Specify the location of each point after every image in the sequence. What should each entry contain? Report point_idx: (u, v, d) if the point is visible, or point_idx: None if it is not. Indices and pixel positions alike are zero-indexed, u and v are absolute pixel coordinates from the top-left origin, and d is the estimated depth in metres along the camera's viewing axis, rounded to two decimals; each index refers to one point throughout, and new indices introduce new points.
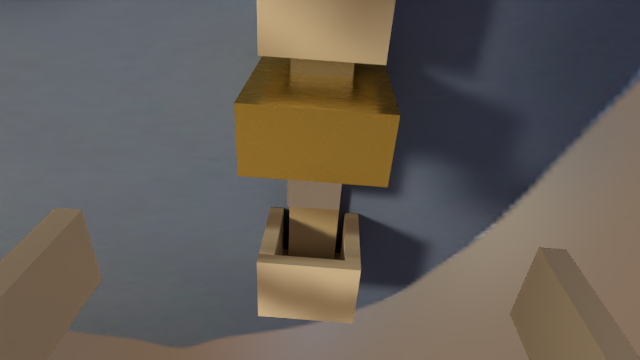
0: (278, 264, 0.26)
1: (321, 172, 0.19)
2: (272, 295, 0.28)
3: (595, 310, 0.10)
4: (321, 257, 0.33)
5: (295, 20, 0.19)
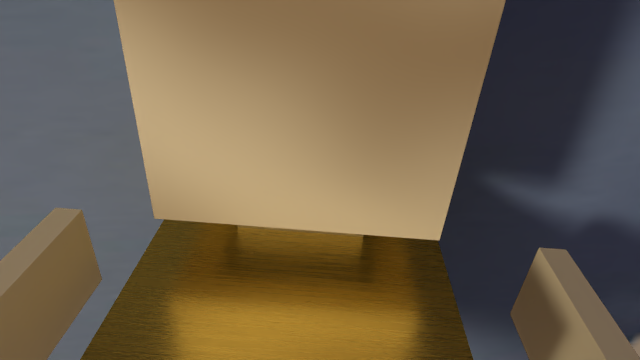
0: None
1: None
2: None
3: (595, 310, 0.10)
4: None
5: (231, 154, 0.08)
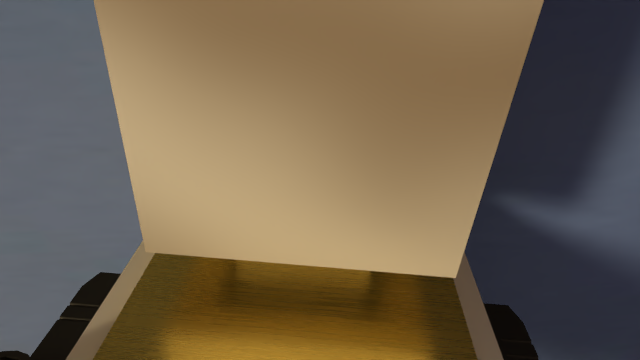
0: None
1: None
2: None
3: None
4: None
5: (229, 186, 0.07)
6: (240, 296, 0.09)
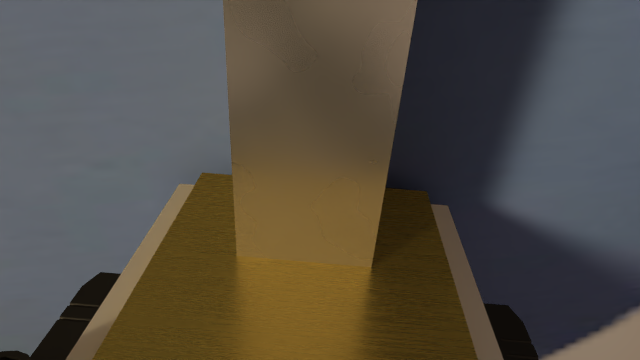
0: None
1: None
2: None
3: (453, 250, 0.11)
4: None
5: None
6: (240, 295, 0.09)
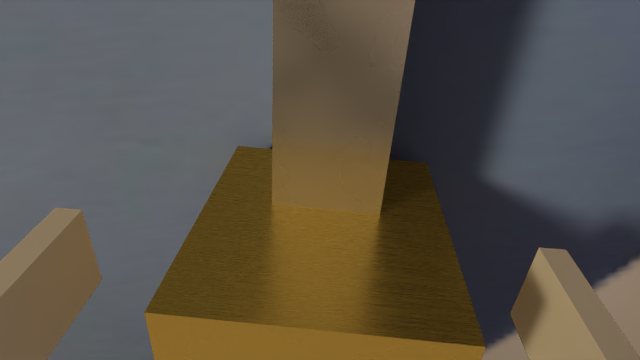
0: None
1: None
2: None
3: (595, 310, 0.10)
4: None
5: None
6: (277, 229, 0.11)
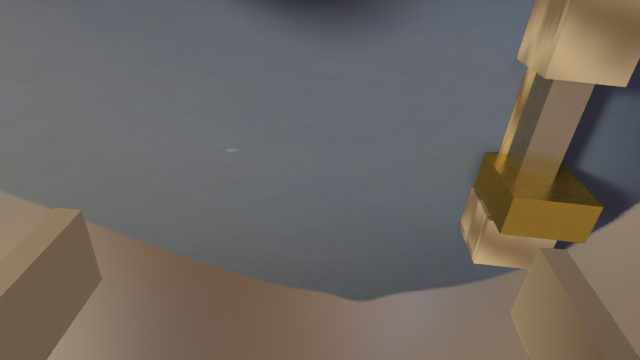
0: None
1: (549, 233, 0.34)
2: (490, 246, 0.39)
3: (595, 310, 0.10)
4: None
5: (577, 58, 0.30)
6: (527, 180, 0.35)
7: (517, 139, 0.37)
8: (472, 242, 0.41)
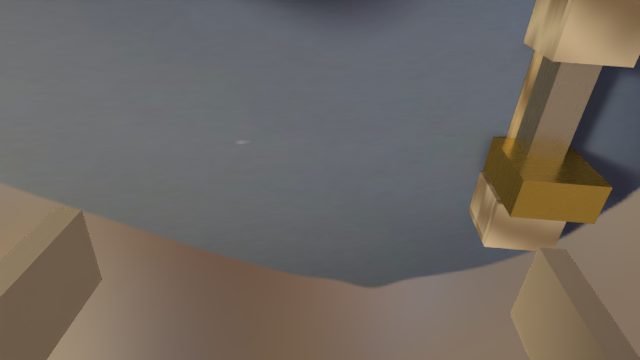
0: None
1: (559, 215, 0.35)
2: (500, 230, 0.39)
3: (595, 310, 0.10)
4: None
5: (584, 40, 0.30)
6: (536, 163, 0.36)
7: (525, 122, 0.37)
8: (482, 226, 0.41)
